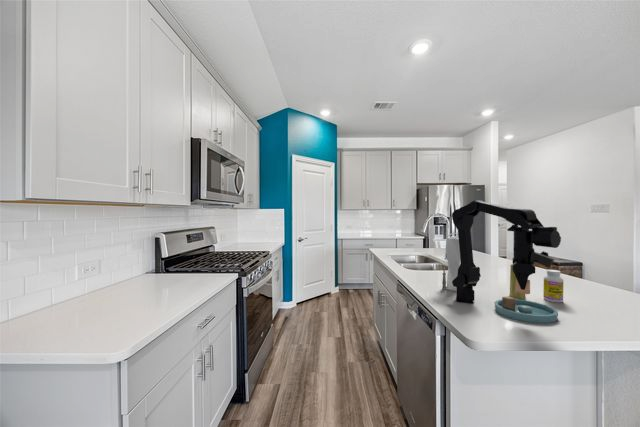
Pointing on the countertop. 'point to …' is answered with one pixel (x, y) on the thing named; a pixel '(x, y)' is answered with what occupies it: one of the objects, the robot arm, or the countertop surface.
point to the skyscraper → (451, 262)
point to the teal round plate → (528, 312)
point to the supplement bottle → (553, 286)
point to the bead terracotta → (527, 288)
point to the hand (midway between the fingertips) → (522, 288)
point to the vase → (514, 286)
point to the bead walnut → (508, 303)
